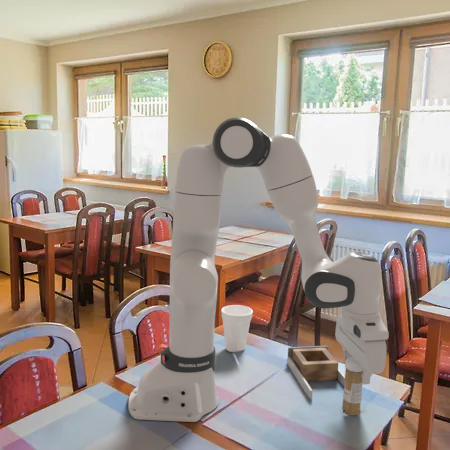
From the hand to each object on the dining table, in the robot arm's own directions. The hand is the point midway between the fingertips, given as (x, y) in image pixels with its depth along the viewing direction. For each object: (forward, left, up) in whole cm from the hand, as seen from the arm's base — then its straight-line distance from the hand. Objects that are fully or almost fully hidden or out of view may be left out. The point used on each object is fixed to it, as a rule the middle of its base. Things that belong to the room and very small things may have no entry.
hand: (356, 373), depth 118 cm
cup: (-23, +38, -10) cm, 45 cm away
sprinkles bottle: (-1, 0, -10) cm, 10 cm away
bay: (-4, +15, -10) cm, 18 cm away
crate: (-4, +19, -9) cm, 21 cm away
